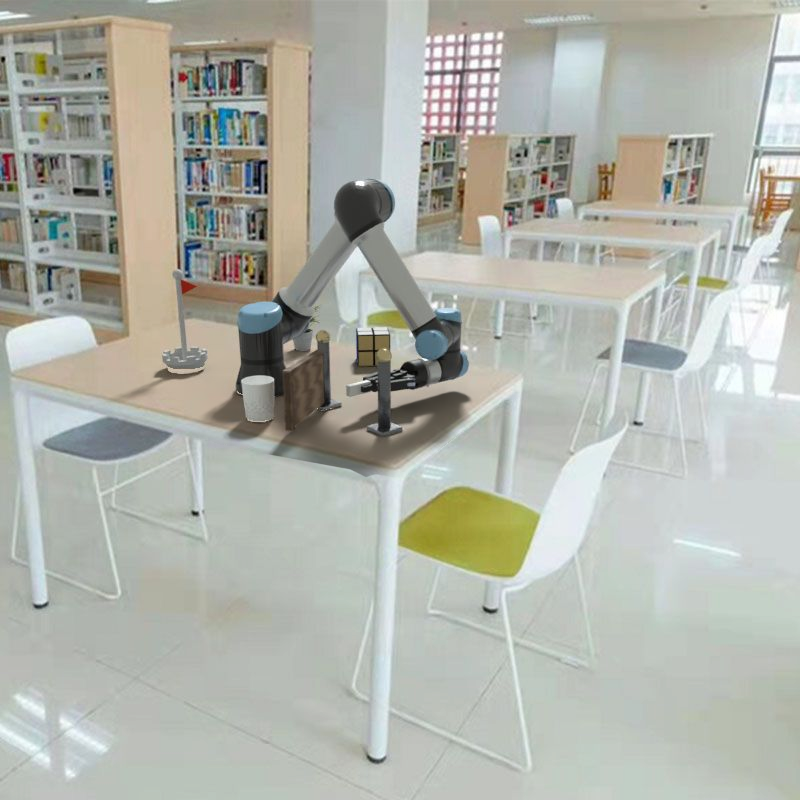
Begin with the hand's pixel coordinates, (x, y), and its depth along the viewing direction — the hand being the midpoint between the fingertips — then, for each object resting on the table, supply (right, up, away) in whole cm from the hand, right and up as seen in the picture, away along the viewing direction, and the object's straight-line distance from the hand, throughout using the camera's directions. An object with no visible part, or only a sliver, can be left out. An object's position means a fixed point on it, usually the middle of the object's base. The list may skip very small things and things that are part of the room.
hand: (348, 391), depth 187 cm
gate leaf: (-10, -6, +1) cm, 12 cm away
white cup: (-22, -7, +3) cm, 23 cm away
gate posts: (+1, -7, +3) cm, 7 cm away
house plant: (-19, +14, +66) cm, 70 cm away
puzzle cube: (+4, +9, +52) cm, 53 cm away
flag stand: (-52, +7, +44) cm, 68 cm away
